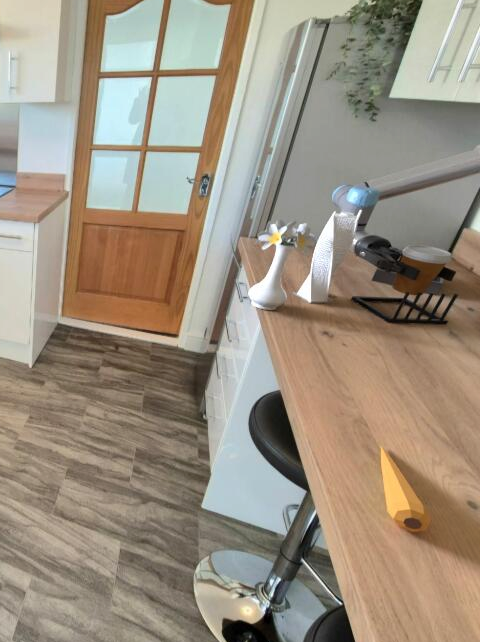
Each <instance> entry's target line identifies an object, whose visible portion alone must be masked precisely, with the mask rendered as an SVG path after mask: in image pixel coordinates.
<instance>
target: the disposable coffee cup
mask: <svg viewBox="0 0 480 642" xmlns="http://www.w3.org/2000/svg"><path fill="white" fill-rule="evenodd" d="M401 251H402V252H403V253H402V254H403V256H402V259H401V262H402V263H404V264H407V265H409V266H411V267H413V268H416V269H418V270H420V273H419V275H418V277H417V279H416V280H411V279H409V278H407V277H405V276H403V275H401V274H399V273H397V275H396V278H395V281H394V284H393V285H392V289H393V290H394V291H397V292H398V293H402V294H404V295H405V294H406V292H409V293H410V294H409V295H410V296H417V294H418V293H419V292H420V293H422V294H421V296H423V295H424V294H425V293H424V292H425V291H426V290H427V288H428V287H429V286H430V284H431V283H432V282H433V281H434V279H435V278H436V277H437V275H438V274H439V273H440V271H441V270H442V269H443V268H444V267H446V265H447V264H449V263H450V262H451V261H452V253H451V252H449V251H447V250H445V249H442V248H438V247H434V246H429V245H422V244H409V245H406V247H405V248H403V249H402V250H401Z"/></svg>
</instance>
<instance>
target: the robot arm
mask: <svg viewBox="0 0 480 642" xmlns="http://www.w3.org/2000/svg"><path fill="white" fill-rule="evenodd" d="M478 175H480V144H478V145H476V146H475V148H474V149H472V150H468V151H464V152H461V153H459V154H456V155H451V156H449V157H445V158H441V159H437V160H435V161H431V162H428V163H424V164H421V165H418V166H415V167H411V168H408V169H404V170H401V171H397V172H395V173H391V174H388V175H384V176H380V177H377V178H374V179H370V180H367V181H363V182H360V183H357V184H356V183H355V184H343V185H340V186H338V187H337V188H336V189H334V190H333V193H332V195H331V196H332V197H331V200H332V202H333V204H334V206H336V207H337V208H339V210H340V212H339V214H340V213H341V212H350V213H353V214H354V215H353V216H357V215H358V213H359V211H360V210H362V213H361V215H360V218H359V220H358V224H357V229H356V233H355V237H354V240H353V243H352V246H351V248H350V250H349V252H348V253H350V254H352V255H353V256H354V257H358V258H359V259H362V260H364V261H366V262H368V263H370V264H371V265H373V266H374V267H376V269H377V268H380V269H383V267H385V268H386V270H385V271H386V272H391V270H393V271H395V272H397V273H399V274H401V275H403V276H405V277H407V278H409V279H411V280H416V279H417V277H418V275H419V273H420V270H418V269H416V268H413V267H411V266H409V265H407V264H404V263H402V262H401V259H402V256H403V254H402V253H403V252H402V251H403V250H401V249H399V248H397V247H393V246H392V243H391V241H390V240H389V239H387V238H384V237H382V236H379V235H378V234H375V233H373V232H371V231H367V230H365V229H366V227H367V225H368V222H369V220H370V219H371V217H372V214H373V211H374V210H375V207H376V205H377V204H378V202H381V201H384V200H388V199H392V198H396V197H399V196H400V197H401V196H403V195H406V194H410V193H414V192H415V193H416V192H418V191H422V190H424V189H430V188H433V187H437V186H441V185H444V184H447V183H451V182H455V181H460V180H463V179H466V178H470V177H473V176H478ZM456 274H457V271H456V270H454V269H451V268H449V267H447V266H444V268H443V269H442V270H441V271H440V273H439V274H438V275H437V276H438V277H440V278H443V280H445V281H448V282H452V281H453V280H454V277H455V275H456Z"/></svg>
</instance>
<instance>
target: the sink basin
mask: <svg viewBox="0 0 480 642" xmlns="http://www.w3.org/2000/svg"><path fill="white" fill-rule="evenodd" d="M385 270H386V268H385V267H383V269H380V268H377V267H376V270H375V272H374V274H373V276H372V278H371V282H376V283H379V284H383V285H384V284H385V285H388V286H393V284H394V281H395V278H396V275H397V272H395V271H393V270H391V272H386V271H385ZM443 284H444V279H443V278H440V277H438V276H437V277H436V278H435V279H434V281H433V282H432V283H431V284H430V286H429V287H428V288H427V290H426V291H425V292H424V294H428V295H429V294H430V293H434V295H433V296H437V295H438V293H439V291H440V289H441V287H442V286H443Z"/></svg>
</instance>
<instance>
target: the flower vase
mask: <svg viewBox="0 0 480 642" xmlns="http://www.w3.org/2000/svg"><path fill="white" fill-rule="evenodd" d="M285 223H286V222H285V221H284V219H280V218H279V219H277V220H276V221H275V223H271V220H268V222H267V223H266V226H265V229H264V230H261V231H259V232H258V233H257V235H256V237H257V238H258V240H257V241H256V242H254V243H253V246H254V247H255V246H256V245H258V244H260V243H262V242H265V243H264V244H263V245H262V246H261V250H262V251H264V250H267V249H268V248H270V247H271V246H273V245H275V254H274V256H273V259H272V263H271V265H270V267H269V270H268V272H267V274H266V276H265V277H264V278H263V279H262V280H261V281H259V282H258V283H255V284H254V285H253V286H251V287H250V288H249V290H248V293H247V295H248V297H249V299H250V301H251V305H252V306H253V307H255V308H257V309H258V310H259V309H260V310H262V311H263V310H264V311H275V310H276V309H277V307H281V306H283V305H284V304H285V303H286V302H287V298H288V296H287V292H286V291H285V289H284V288H283V284H282V278H283V277H282V276H283V273H284V269H285V267H286V263H287V260H288V259H289V257H290V255H291V254H292V251H293V250H294V249H295V248H296V250H297V252H303V254H304V255H305V256H306V257H310V252H311V251H310V250H313V248H314V247H313V246H316V245H317V240H316V239H317V236H316V234H314V233H311V227H310V226H309V225H308V223H306V222H304V223H300V224H298V228H295V226H296V225H297V223H298V221H297V220H292V221H290V222H288V223H287V224H285ZM282 238H283V239H282Z"/></svg>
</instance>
